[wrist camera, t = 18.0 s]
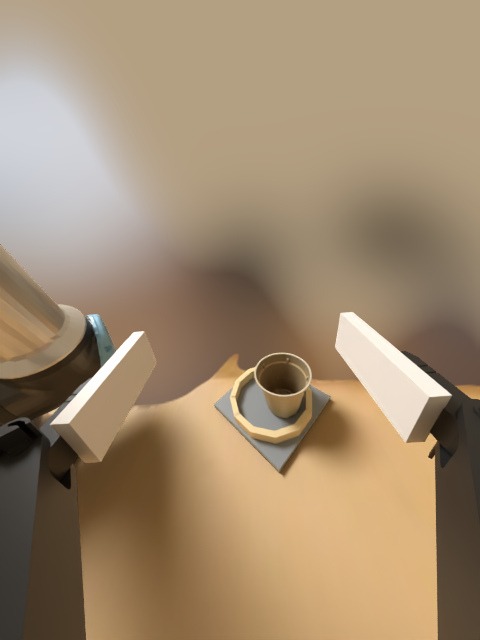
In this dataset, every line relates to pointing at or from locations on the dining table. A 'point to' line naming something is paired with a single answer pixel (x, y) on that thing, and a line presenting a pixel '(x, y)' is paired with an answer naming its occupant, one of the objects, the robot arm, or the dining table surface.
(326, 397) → the collar plate
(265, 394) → the flower pot
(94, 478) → the dining table surface
